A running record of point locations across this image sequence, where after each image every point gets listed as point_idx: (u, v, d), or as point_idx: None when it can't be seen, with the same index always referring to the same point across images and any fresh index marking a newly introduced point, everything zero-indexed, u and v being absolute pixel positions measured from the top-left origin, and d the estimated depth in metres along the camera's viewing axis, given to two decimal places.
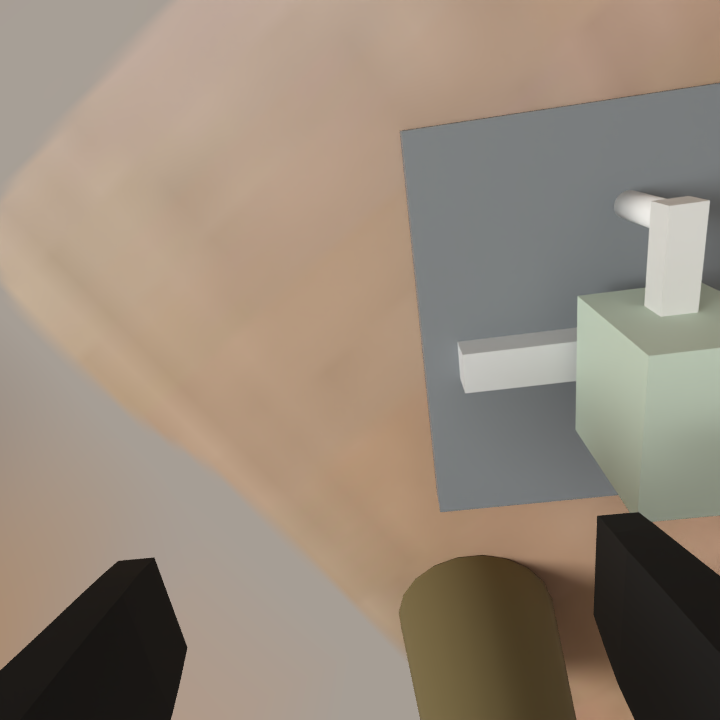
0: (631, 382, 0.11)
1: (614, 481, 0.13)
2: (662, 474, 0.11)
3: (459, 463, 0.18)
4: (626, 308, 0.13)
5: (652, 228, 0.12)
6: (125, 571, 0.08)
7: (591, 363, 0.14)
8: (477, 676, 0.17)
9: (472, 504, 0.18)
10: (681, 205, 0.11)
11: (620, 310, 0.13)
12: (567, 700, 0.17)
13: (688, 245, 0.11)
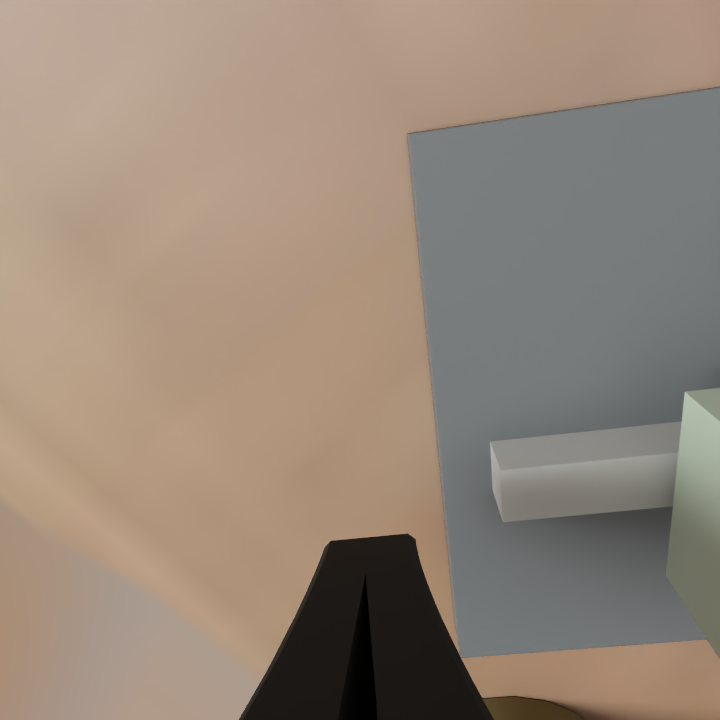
0: None
1: None
2: None
3: (487, 599, 0.13)
4: None
5: None
6: (348, 551, 0.08)
7: (712, 503, 0.09)
8: None
9: (504, 649, 0.13)
10: None
11: None
12: None
13: None
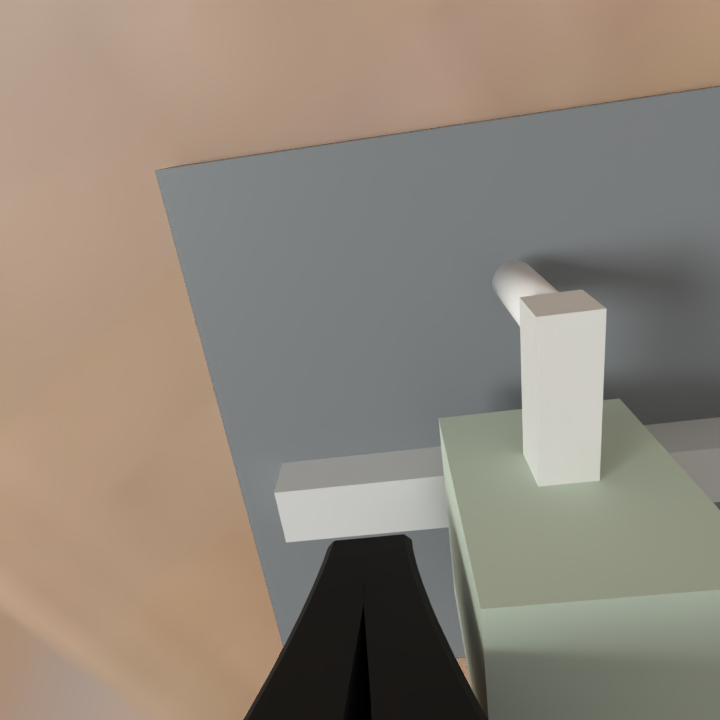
0: (474, 617, 0.07)
1: None
2: None
3: None
4: (494, 457, 0.08)
5: (522, 342, 0.07)
6: (351, 550, 0.08)
7: (452, 528, 0.09)
8: None
9: None
10: (557, 315, 0.06)
11: (484, 462, 0.08)
12: None
13: (574, 380, 0.07)
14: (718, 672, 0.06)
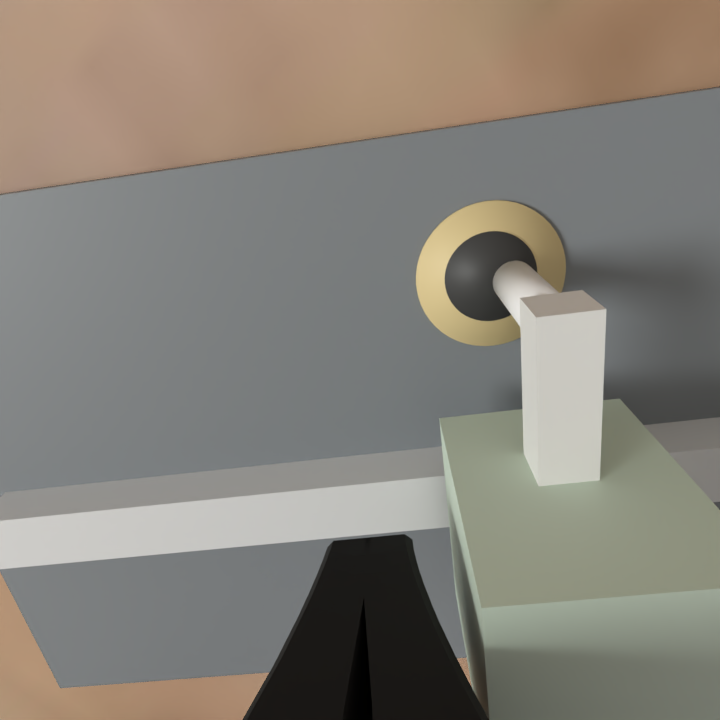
0: (475, 617, 0.07)
1: None
2: None
3: (63, 634, 0.13)
4: (495, 457, 0.08)
5: (522, 342, 0.07)
6: (351, 551, 0.08)
7: (453, 527, 0.09)
8: None
9: (98, 680, 0.14)
10: (557, 316, 0.06)
11: (484, 461, 0.08)
12: None
13: (574, 380, 0.07)
14: (719, 671, 0.06)
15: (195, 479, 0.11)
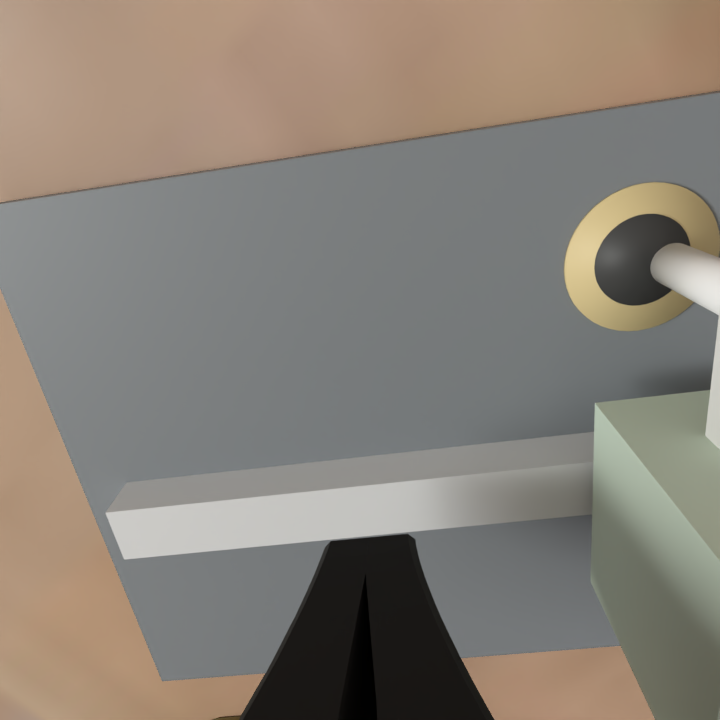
0: (695, 597, 0.07)
1: (657, 712, 0.08)
2: None
3: (170, 626, 0.13)
4: (675, 440, 0.08)
5: None
6: (348, 550, 0.08)
7: (617, 512, 0.09)
8: None
9: (201, 672, 0.14)
10: None
11: (666, 444, 0.08)
12: None
13: None
14: None
15: (323, 468, 0.11)
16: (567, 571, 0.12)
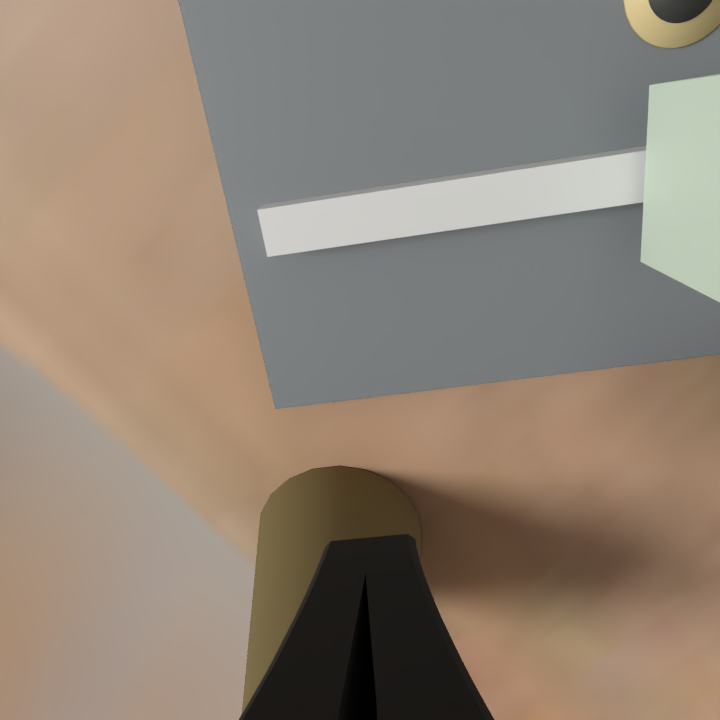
0: None
1: (702, 282, 0.11)
2: None
3: (287, 351, 0.16)
4: None
5: None
6: (348, 550, 0.08)
7: (669, 155, 0.12)
8: (299, 577, 0.15)
9: (308, 399, 0.17)
10: None
11: None
12: None
13: None
14: None
15: (426, 180, 0.14)
16: (616, 286, 0.15)
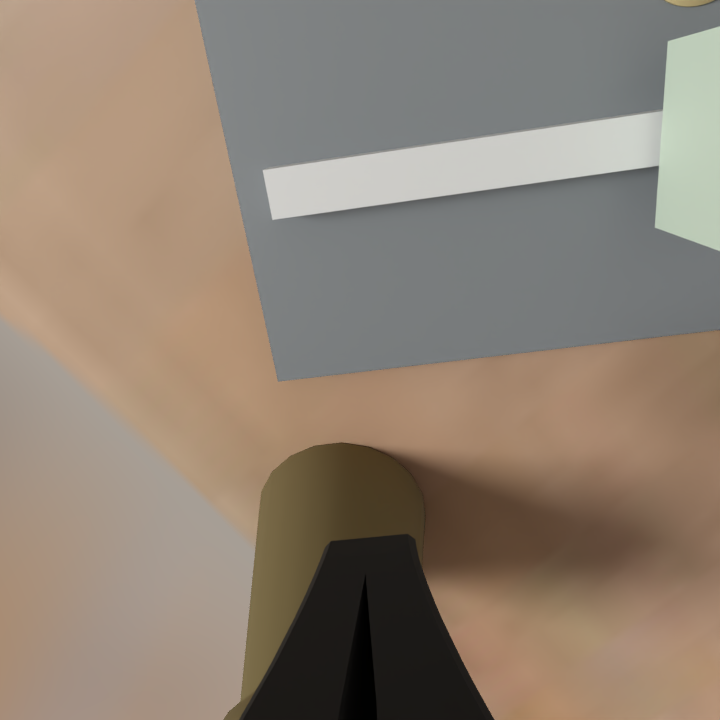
0: None
1: None
2: None
3: (290, 321, 0.16)
4: None
5: None
6: (348, 550, 0.08)
7: (687, 111, 0.11)
8: (301, 550, 0.15)
9: (312, 371, 0.17)
10: None
11: None
12: None
13: None
14: None
15: (436, 143, 0.14)
16: (628, 256, 0.15)
